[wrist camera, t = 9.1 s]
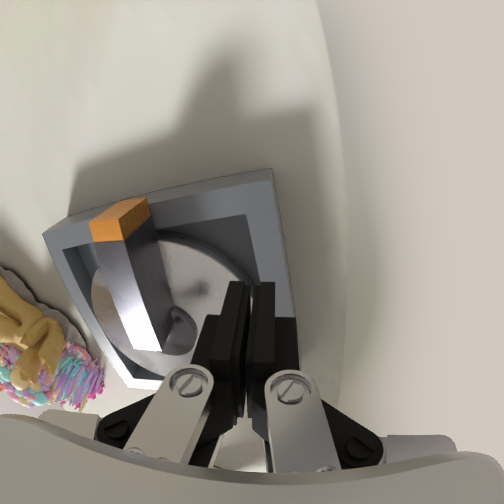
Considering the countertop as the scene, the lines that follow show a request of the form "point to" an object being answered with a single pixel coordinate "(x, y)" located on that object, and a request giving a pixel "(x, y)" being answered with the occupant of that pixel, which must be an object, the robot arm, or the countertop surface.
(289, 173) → the countertop surface
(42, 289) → the countertop surface
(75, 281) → the housing
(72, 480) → the robot arm
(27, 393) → the pastel sphere sculpture
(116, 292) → the dial
